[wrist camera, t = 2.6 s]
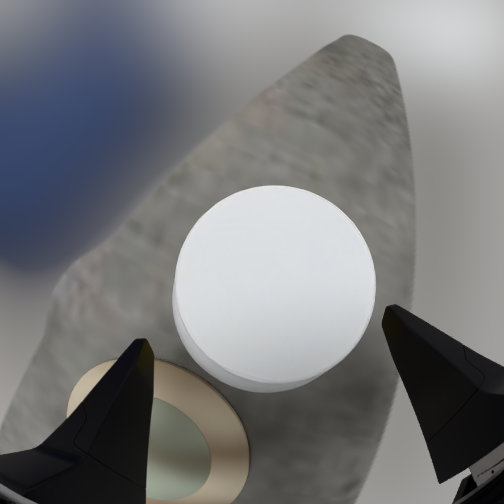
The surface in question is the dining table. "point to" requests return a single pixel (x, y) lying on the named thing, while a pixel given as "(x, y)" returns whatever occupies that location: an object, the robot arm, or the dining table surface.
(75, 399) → the round tan coaster
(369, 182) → the dining table surface
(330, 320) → the supplement bottle
